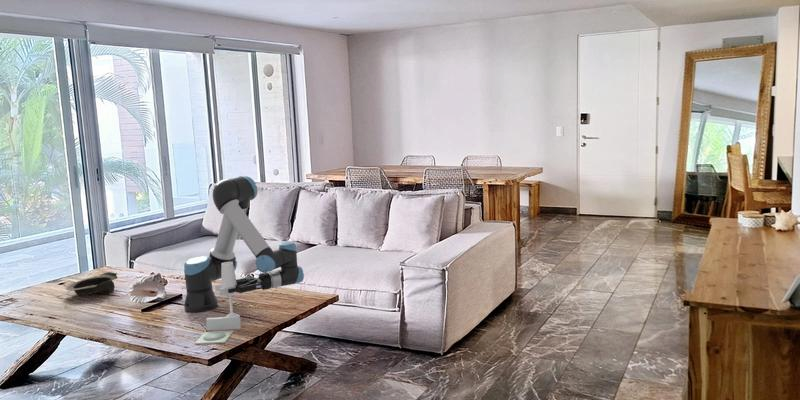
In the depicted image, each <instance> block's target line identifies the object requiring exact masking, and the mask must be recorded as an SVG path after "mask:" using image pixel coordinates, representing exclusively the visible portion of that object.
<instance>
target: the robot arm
mask: <svg viewBox="0 0 800 400" xmlns="http://www.w3.org/2000/svg"><path fill="white" fill-rule="evenodd" d="M257 196H258V186H257V185H256V182H255V180H254V179H252V178H251V177H250V176H247V175H246V176H245V175H244V176H238V177H231V178H225V179H220V180H219V181H218V182H216V184H215V185H214V187H213V190H212V201H213V204H214V205H215V208H216V209H217V211H219V214H221V215H222V220H221V223H220V227H219V231H218V234H217V238H216V242H215V245H214V247H212V248H211V249H210V252H209V255H208V256H207V255H202V256H201V255H200V256H196V257H192V258H189V259H188V260H186V261H185V262H184V265H183V268H184V269H183V273H184V279H185V287H186V289H185V290H186V296H185V301H184V303H183V304H184V306H183V307H184V311H186V312H189V313H200V312H206V311H210V310H213V309H215V308H216V307H218V306H219V303H218V302H219V301H218V298H217V296H216V294H215V292H219V296H225V295H227V294H230V293H233V294H235V293H237V294H244V293H247V292H252V291H256V290H257V291H258V290H262V291H265V290H266V291H267V290H269V289H278V288H279V287H280V288H281V287H284V286H285V287H286V286H289V285H296V284H299V283H302V282H304V279H305V273H304V270H303V268H302V266H298V257H297V254H298V253H297V252H298V251H297V246H296V245H297V244H296V242H293V241H284V242H281V243H279V245H278V246H279V247H278V249H277V250H273V249H272V248H271V246H270V245H269V244H268V243H267V241H266V240H265V239H264V237H263V236H262V234H261V233H260V232H259V230H258V229H257V227H256V226H255V225H254V223H253V222H252V221H251V219H250V218H249V216H248V215H247V214H246V213H245V210H247V209H249V206H250V203H251V201H252V200H254V199H256V198H257ZM238 236H240V238H241V239H242V240H243V242H244V244H245V245H246V247H248V249H249V250H250V252H251V253H252V254H253V256H254V257H255V258H256V259H255V267H256V269H257V270H258V271H259V272H260V273H259V274H258V277H252V276H250V277H244V278H239V279H238V278H236V282H237V285H236V288H235V286H232V287H227V288H221V283H218V284H214V287H215V288H214V289H215V290H214V289H213V282H214V281H218V280H221V268H222V263H224V262H233V266H234V271H236V269H237V266H238V261H237V257H236V255H235V254H236V253H235V252H234V248H235V245H236V240H237V237H238ZM279 268H280V269H279ZM276 269H277V270H276ZM214 291H215V292H214Z"/></svg>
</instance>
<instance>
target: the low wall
mask: <svg viewBox="0 0 800 400" xmlns="http://www.w3.org/2000/svg"><path fill="white" fill-rule="evenodd" d="M205 322H206V323H205V324H206V332H211V331H231V330H241V329H242V323H241V322H242V321H241V316H237V317H225V316H222V317H207V318H206V319H205Z"/></svg>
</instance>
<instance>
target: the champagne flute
mask: <svg viewBox="0 0 800 400" xmlns="http://www.w3.org/2000/svg"><path fill="white" fill-rule="evenodd" d="M235 271H236V270H235ZM235 271H234V266H233V262H224V263H222V268H221V279H220V280H221V283H220V284H221V288H227V287H232V286H235V288H236V285H237V282H236V280H237V277H236V273H235ZM232 295H234V293H230V294H226V296H228V301H229V302H228V303H229V304H228V305H229V311H230V312H229V313H228V314H226V315H225V316H224V317H237V316H240V314H239V313H236V312H234V309H233V296H232ZM240 317H241V316H240Z"/></svg>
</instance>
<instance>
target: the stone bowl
mask: <svg viewBox="0 0 800 400" xmlns="http://www.w3.org/2000/svg"><path fill="white" fill-rule="evenodd" d="M117 274H118V273H117V272H110V271H109V272H104V273H101V274H99V275H94V276H91V277H87V278H83V279H81V280H77V281H75V282H73V283H70V284H69V285H68V286H67V287H65V289H66V290H67V291H74V293H75V294H76V295H77V296H78V297H81V296H89V295H91V294H95V293H102V292H103V293H102V294H104V295H110V294H111V293H113V291H114V290H115V282H114V280H116V279H118V276H117ZM109 293H110V294H109Z"/></svg>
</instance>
